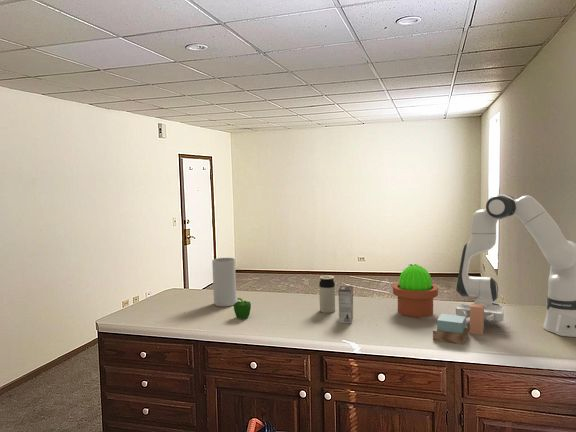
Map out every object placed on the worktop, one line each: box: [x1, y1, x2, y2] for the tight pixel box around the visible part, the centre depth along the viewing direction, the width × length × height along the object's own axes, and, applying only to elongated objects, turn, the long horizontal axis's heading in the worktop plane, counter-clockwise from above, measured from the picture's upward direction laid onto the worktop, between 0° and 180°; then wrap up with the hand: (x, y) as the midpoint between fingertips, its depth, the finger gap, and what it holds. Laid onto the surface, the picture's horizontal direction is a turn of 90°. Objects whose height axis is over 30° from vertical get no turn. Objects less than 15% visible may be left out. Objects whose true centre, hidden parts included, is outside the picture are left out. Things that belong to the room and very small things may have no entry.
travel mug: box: [318, 275, 336, 314], centre depth 244 cm, size 8×8×18 cm
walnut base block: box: [432, 325, 469, 345], centre depth 201 cm, size 12×12×4 cm
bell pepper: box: [233, 297, 252, 320], centre depth 237 cm, size 8×8×10 cm
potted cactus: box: [392, 263, 439, 318], centre depth 237 cm, size 22×22×25 cm
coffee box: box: [338, 285, 354, 324], centre depth 228 cm, size 9×6×16 cm
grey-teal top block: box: [436, 313, 467, 334], centre depth 201 cm, size 10×10×4 cm
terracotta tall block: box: [469, 303, 485, 336], centre depth 207 cm, size 5×5×12 cm
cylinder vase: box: [211, 257, 237, 308], centre depth 262 cm, size 12×12×25 cm
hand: (476, 317), depth 207 cm, fingers open, 8 cm apart
